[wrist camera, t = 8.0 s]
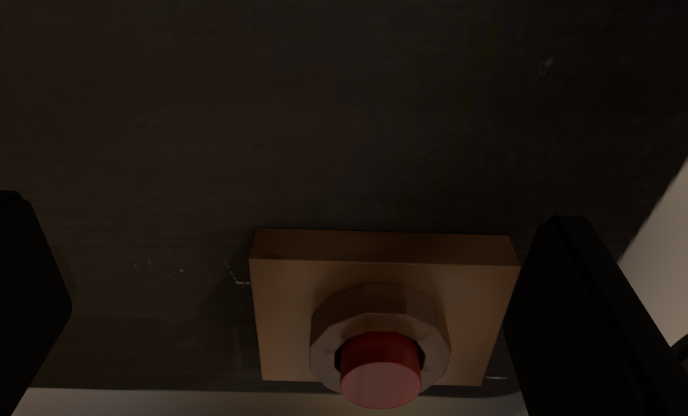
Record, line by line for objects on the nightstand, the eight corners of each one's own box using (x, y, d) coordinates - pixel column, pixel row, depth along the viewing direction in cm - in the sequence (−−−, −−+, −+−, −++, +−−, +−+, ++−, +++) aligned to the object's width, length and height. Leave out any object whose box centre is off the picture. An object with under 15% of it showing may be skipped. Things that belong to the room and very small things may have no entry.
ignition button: (422, 329, 22) (427, 363, 20) (412, 377, 24) (416, 410, 23) (341, 327, 22) (341, 360, 20) (339, 375, 24) (339, 408, 23)
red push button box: (508, 234, 23) (533, 297, 20) (472, 353, 29) (488, 417, 25) (255, 227, 23) (240, 289, 20) (267, 347, 28) (257, 411, 25)
